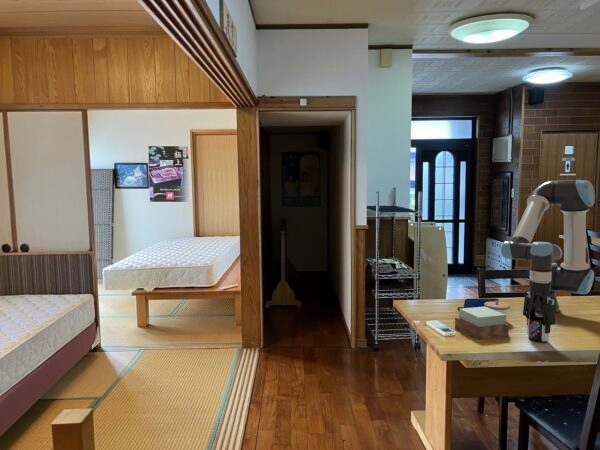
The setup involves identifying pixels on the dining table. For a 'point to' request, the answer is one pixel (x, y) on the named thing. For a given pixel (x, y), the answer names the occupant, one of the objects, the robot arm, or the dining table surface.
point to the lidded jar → (498, 307)
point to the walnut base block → (481, 329)
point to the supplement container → (535, 326)
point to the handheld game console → (476, 303)
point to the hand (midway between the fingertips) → (537, 337)
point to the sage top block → (482, 316)
